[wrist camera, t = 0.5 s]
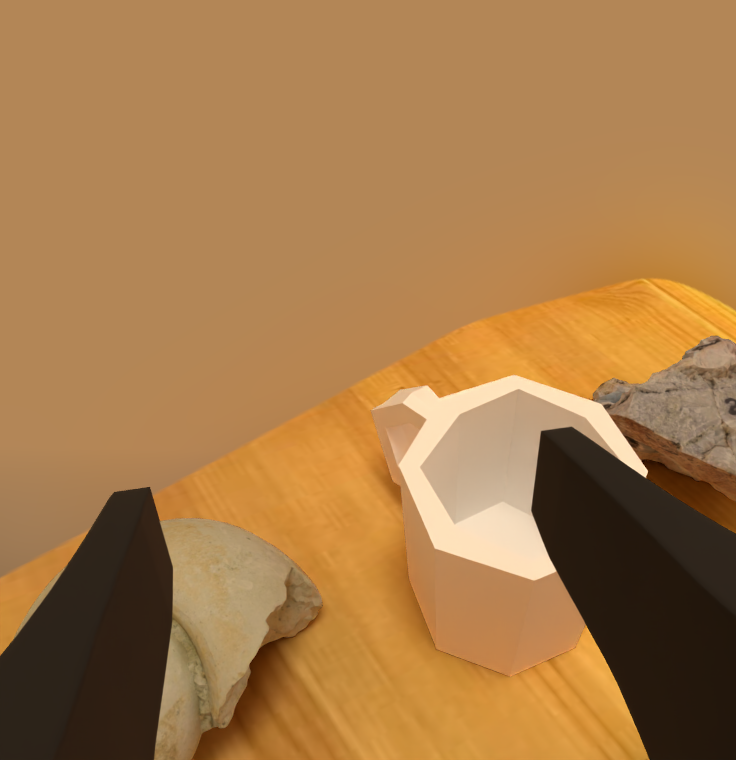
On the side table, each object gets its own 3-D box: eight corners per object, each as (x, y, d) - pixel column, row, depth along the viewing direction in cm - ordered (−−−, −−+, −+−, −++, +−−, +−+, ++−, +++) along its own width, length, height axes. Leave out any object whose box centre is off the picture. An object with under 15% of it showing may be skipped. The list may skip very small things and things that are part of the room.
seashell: (15, 879, 19) (-96, 601, 24) (86, 884, 26) (-12, 663, 30) (366, 609, 25) (222, 424, 29) (353, 668, 31) (237, 508, 35)
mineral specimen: (670, 470, 40) (588, 563, 34) (613, 347, 39) (518, 419, 33) (858, 445, 32) (796, 559, 26) (790, 292, 32) (710, 372, 26)
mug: (633, 585, 31) (695, 469, 23) (503, 722, 28) (527, 638, 20) (447, 430, 37) (448, 298, 30) (324, 526, 34) (290, 407, 26)
